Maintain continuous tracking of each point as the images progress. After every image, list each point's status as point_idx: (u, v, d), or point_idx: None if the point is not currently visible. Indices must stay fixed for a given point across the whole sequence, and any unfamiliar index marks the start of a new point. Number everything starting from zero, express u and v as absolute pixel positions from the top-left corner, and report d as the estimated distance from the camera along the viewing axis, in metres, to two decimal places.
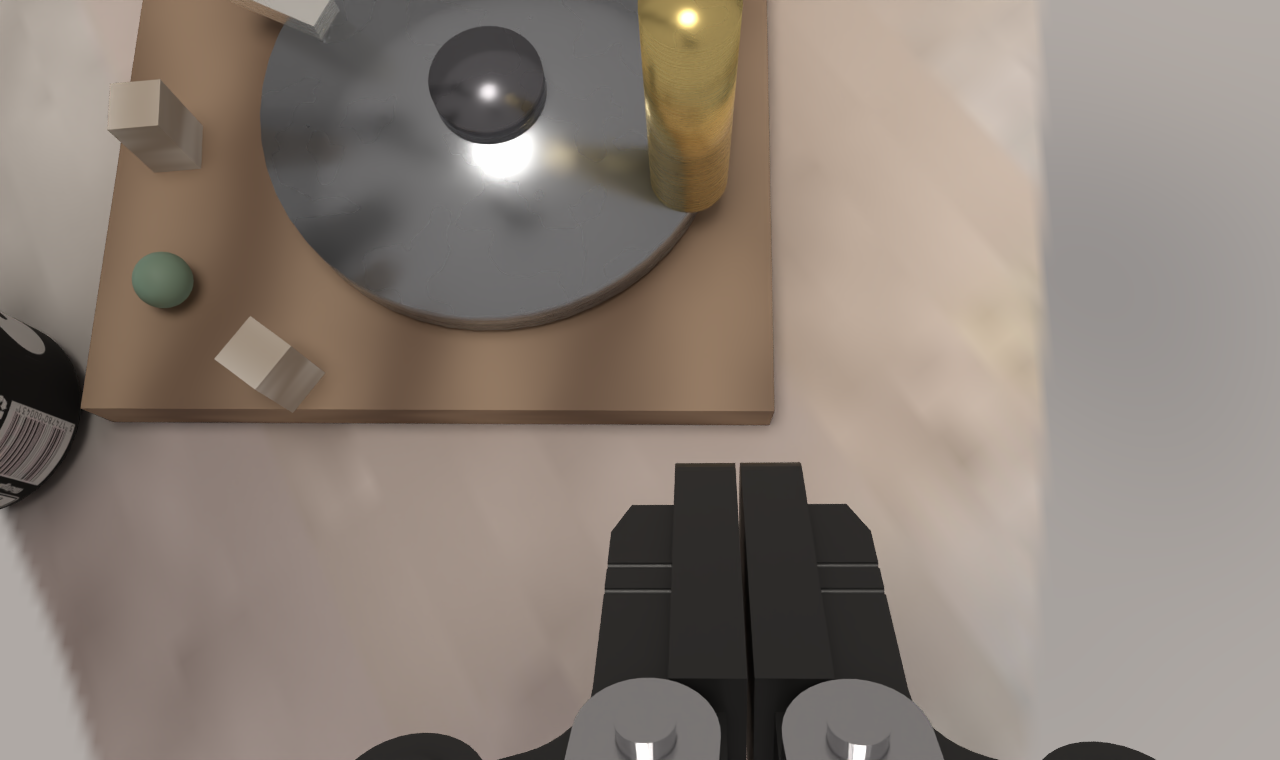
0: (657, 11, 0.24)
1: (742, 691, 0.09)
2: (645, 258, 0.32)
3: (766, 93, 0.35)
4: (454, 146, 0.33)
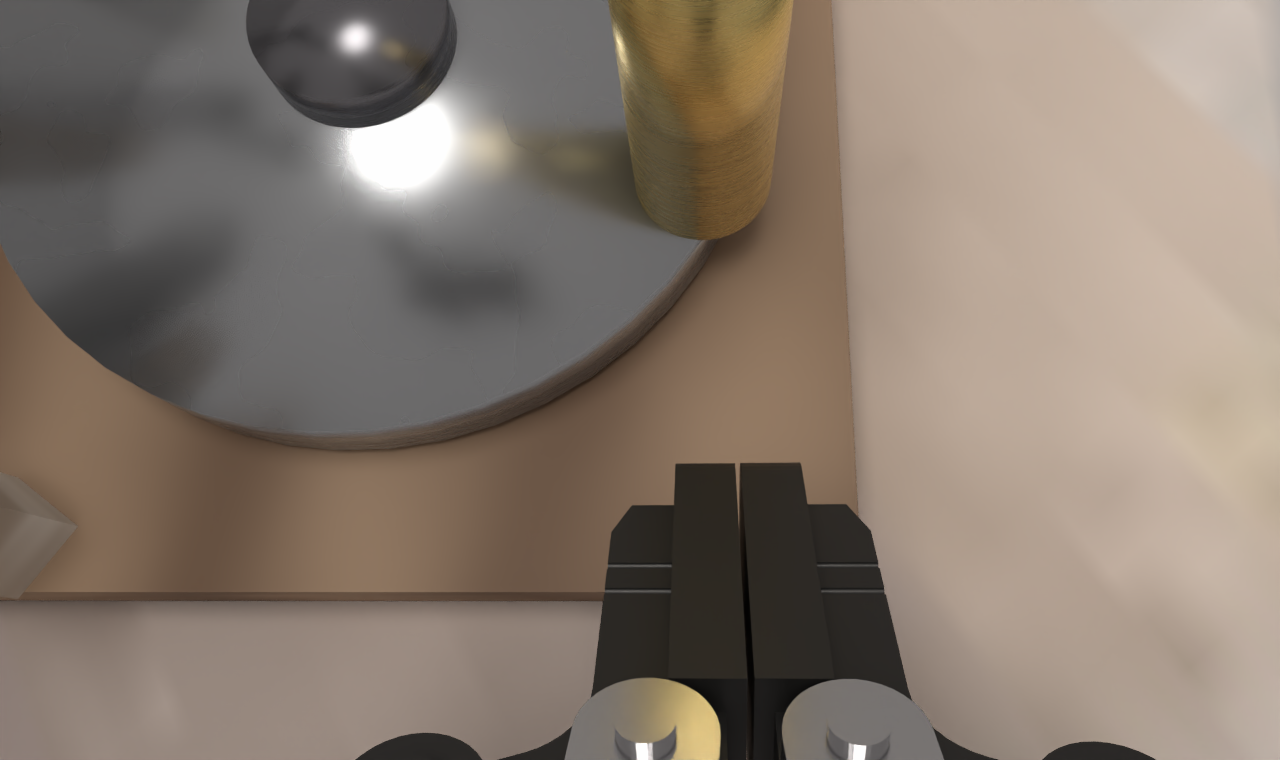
0: None
1: (742, 691, 0.09)
2: (627, 323, 0.18)
3: (830, 39, 0.21)
4: (297, 133, 0.19)
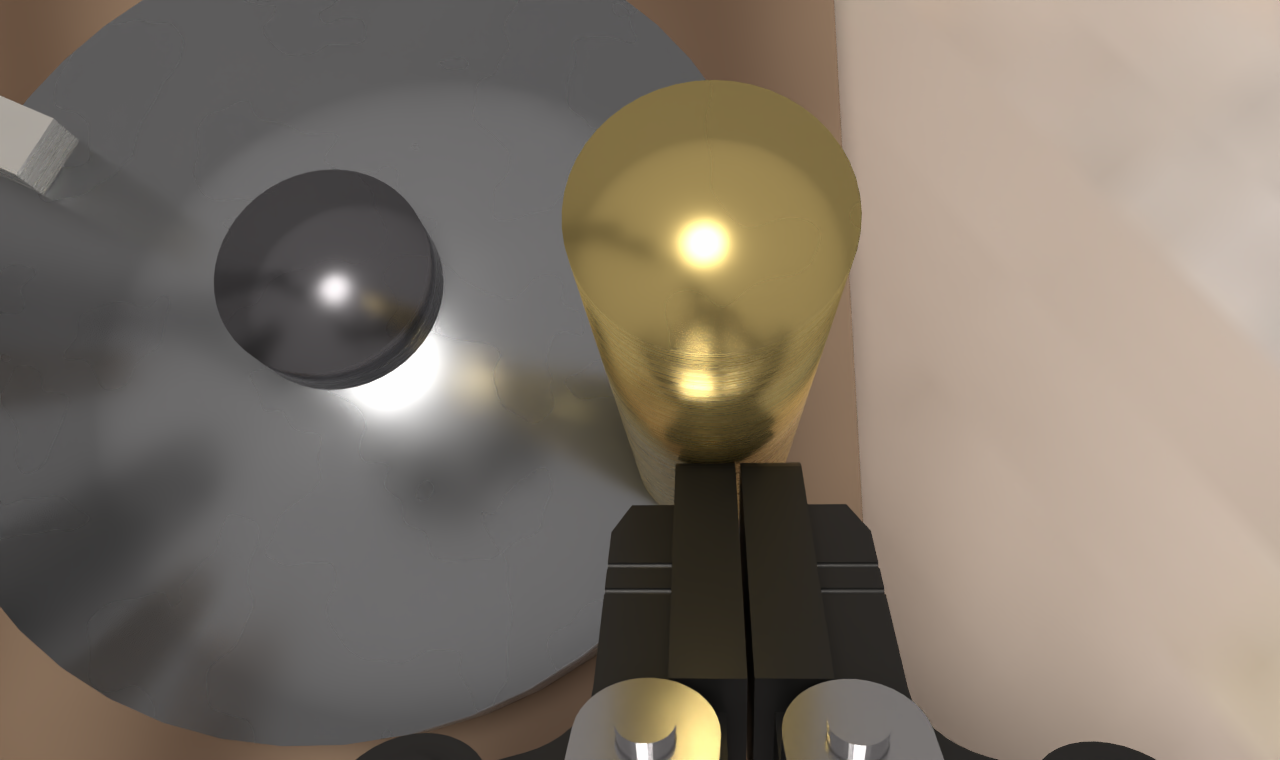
0: (617, 238, 0.08)
1: (742, 691, 0.09)
2: None
3: None
4: (271, 395, 0.18)
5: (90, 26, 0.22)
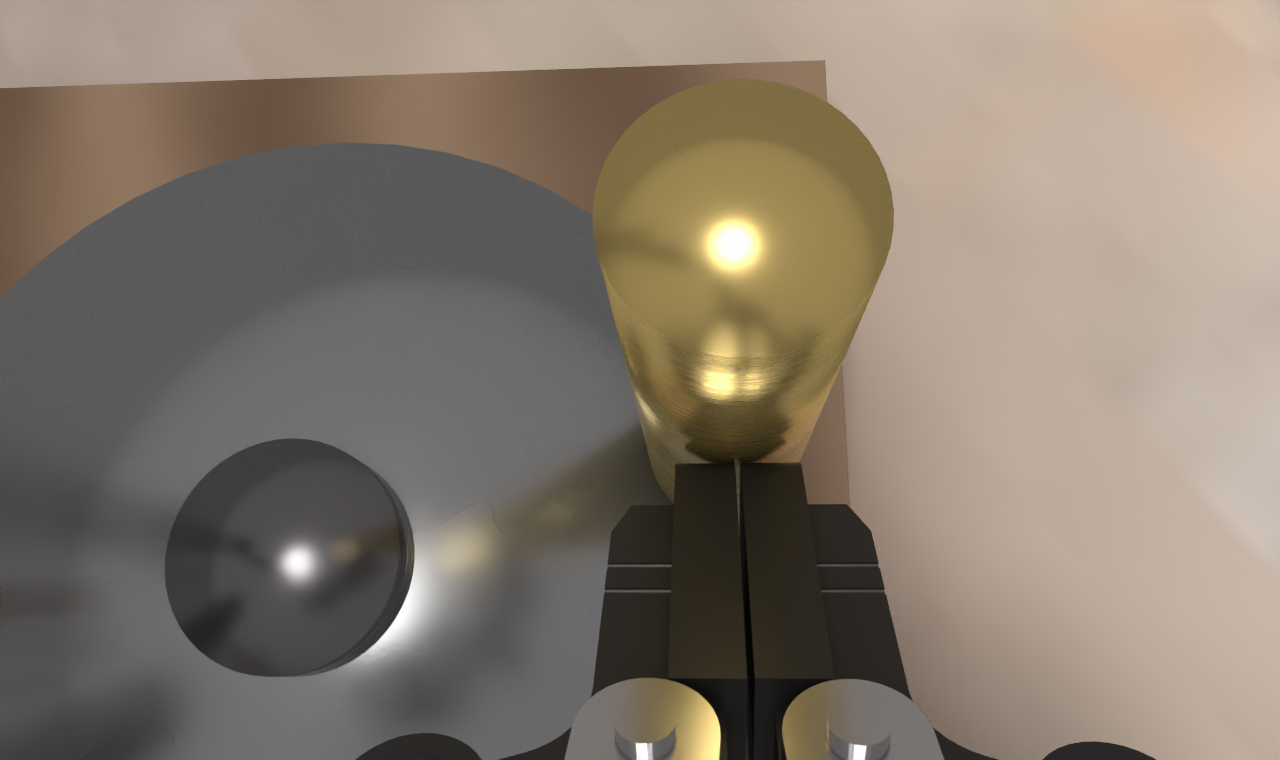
0: (688, 287, 0.08)
1: (742, 691, 0.09)
2: None
3: None
4: (316, 698, 0.16)
5: (42, 228, 0.21)
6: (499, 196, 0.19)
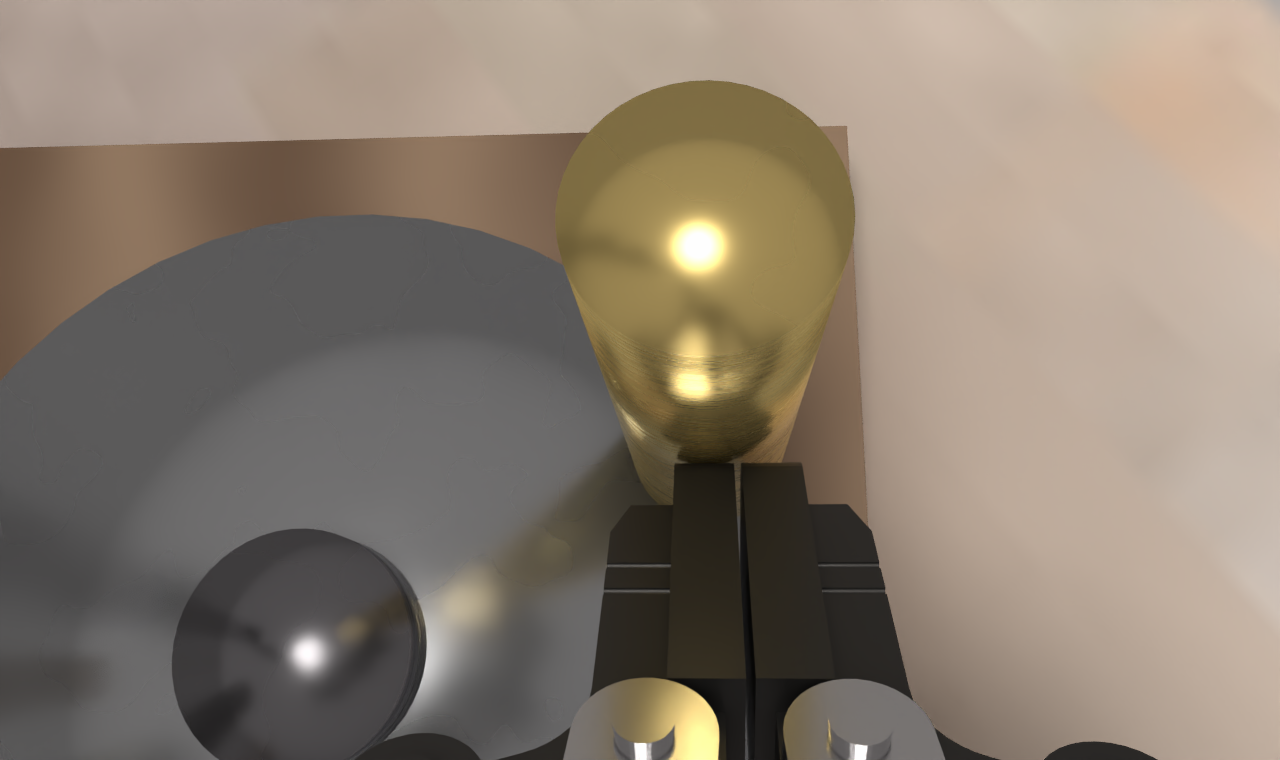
0: (668, 296, 0.08)
1: (741, 691, 0.09)
2: None
3: None
4: None
5: (49, 293, 0.21)
6: (432, 247, 0.18)
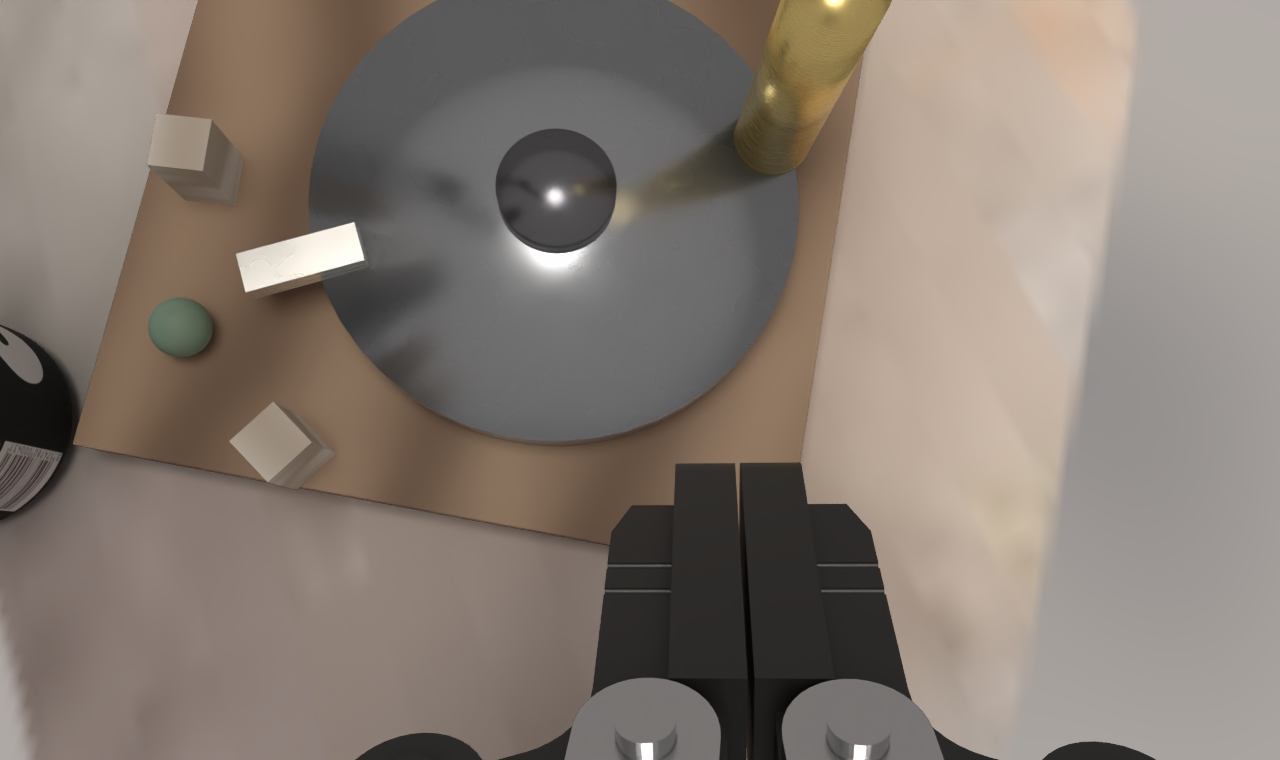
0: (826, 8, 0.24)
1: (742, 691, 0.09)
2: (796, 228, 0.33)
3: (832, 241, 0.34)
4: (571, 263, 0.32)
5: None
6: (643, 5, 0.34)
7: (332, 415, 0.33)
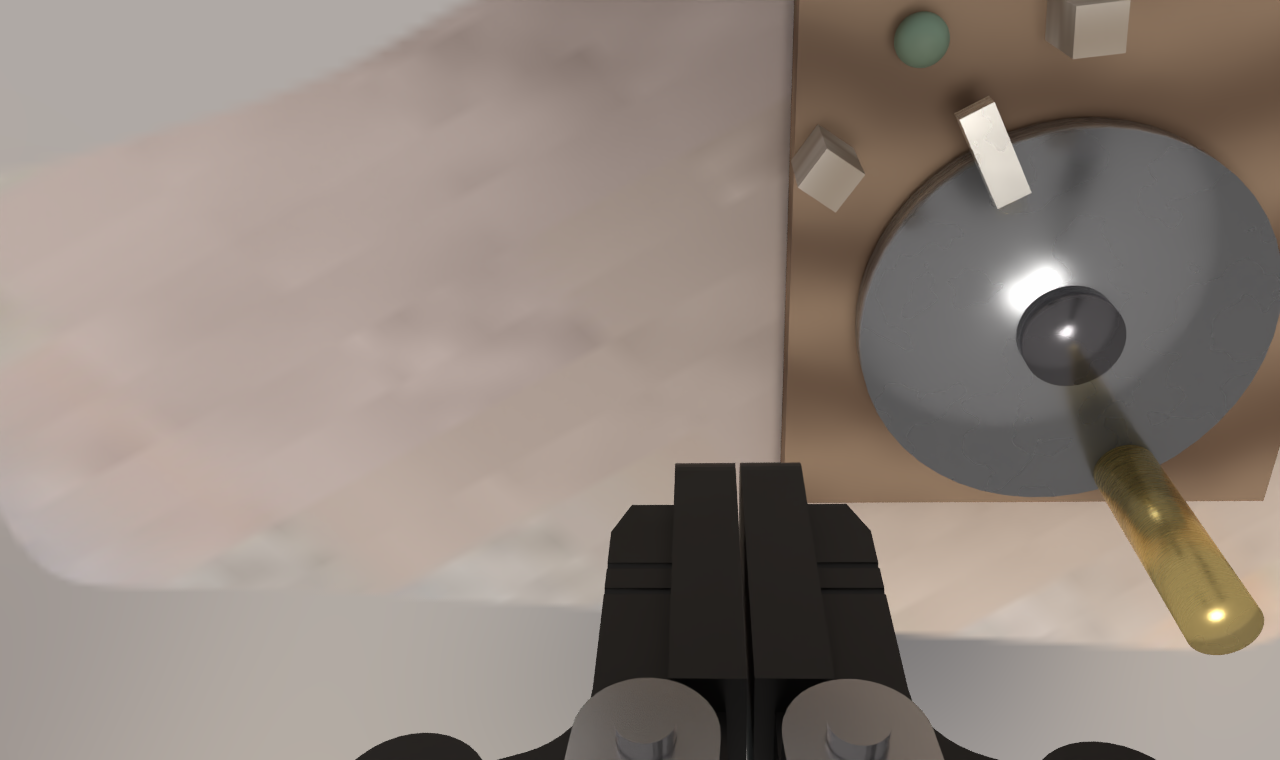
0: (1203, 620, 0.34)
1: (742, 691, 0.09)
2: (1049, 493, 0.43)
3: (1042, 500, 0.45)
4: (1008, 351, 0.39)
5: (1278, 135, 0.37)
6: (1248, 362, 0.39)
7: None
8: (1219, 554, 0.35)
